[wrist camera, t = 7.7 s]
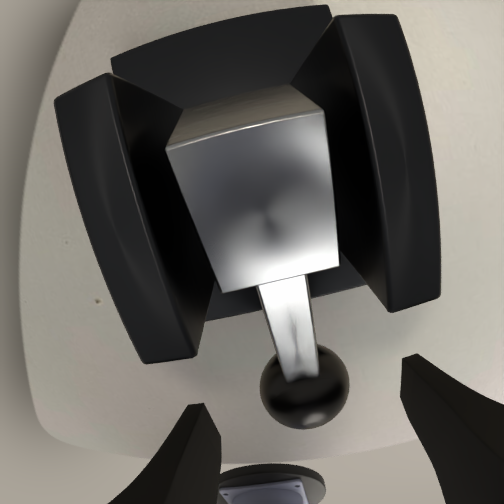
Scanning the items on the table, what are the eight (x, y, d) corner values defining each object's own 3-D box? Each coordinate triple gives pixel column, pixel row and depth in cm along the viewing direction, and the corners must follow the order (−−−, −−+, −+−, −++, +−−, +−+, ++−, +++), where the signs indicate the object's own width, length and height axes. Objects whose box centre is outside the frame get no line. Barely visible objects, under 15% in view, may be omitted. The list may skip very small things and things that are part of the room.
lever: (338, 361, 13) (356, 428, 10) (264, 378, 13) (273, 446, 10) (309, 76, 6) (373, 110, 3) (161, 112, 6) (120, 171, 4)
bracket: (376, 269, 14) (490, 405, 5) (191, 312, 15) (139, 482, 6) (322, 14, 11) (408, -121, 2) (120, 63, 11) (-31, -7, 2)
